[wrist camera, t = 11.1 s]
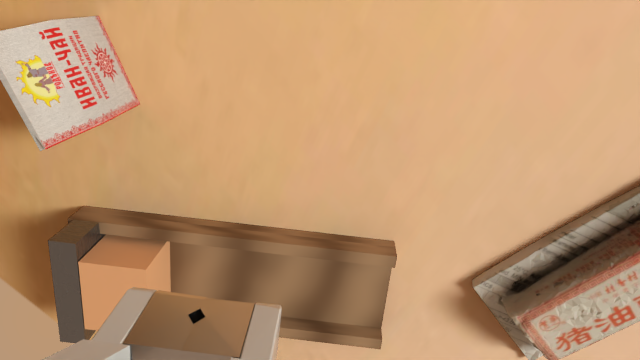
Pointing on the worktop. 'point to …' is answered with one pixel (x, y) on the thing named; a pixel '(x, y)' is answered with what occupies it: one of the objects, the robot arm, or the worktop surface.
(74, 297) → the end stop
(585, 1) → the worktop surface
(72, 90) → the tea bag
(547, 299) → the packaged product
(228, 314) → the robot arm
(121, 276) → the orange block
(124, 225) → the track
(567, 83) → the worktop surface
